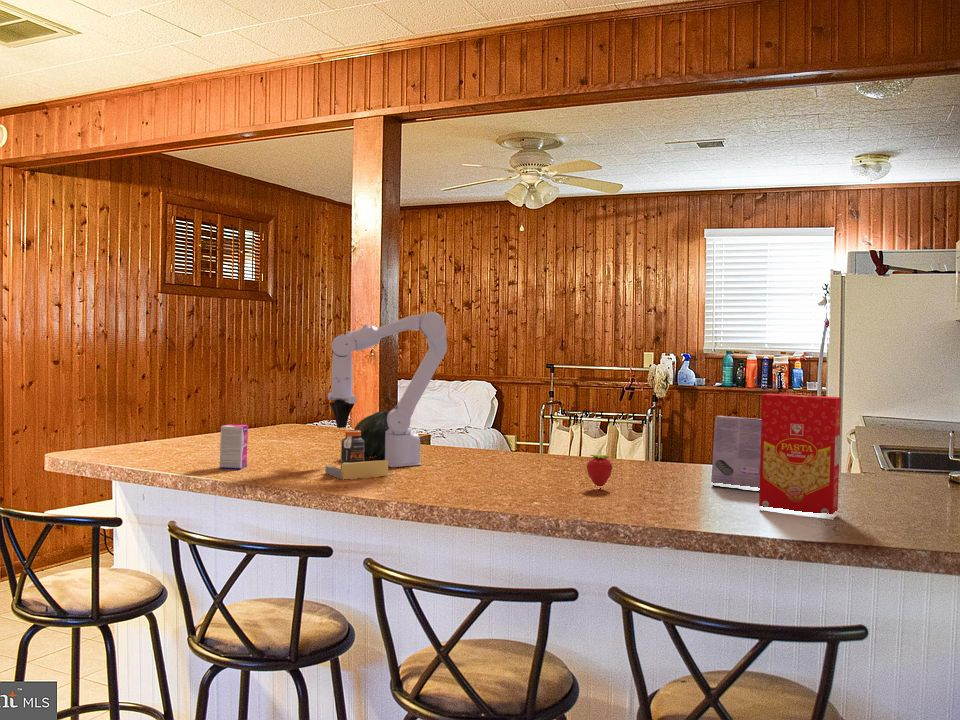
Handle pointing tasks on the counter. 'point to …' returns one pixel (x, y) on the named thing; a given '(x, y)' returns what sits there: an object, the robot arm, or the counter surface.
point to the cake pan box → (737, 451)
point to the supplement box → (233, 447)
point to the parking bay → (359, 470)
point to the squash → (374, 434)
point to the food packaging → (800, 452)
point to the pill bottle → (352, 447)
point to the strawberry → (599, 469)
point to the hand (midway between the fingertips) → (341, 427)
